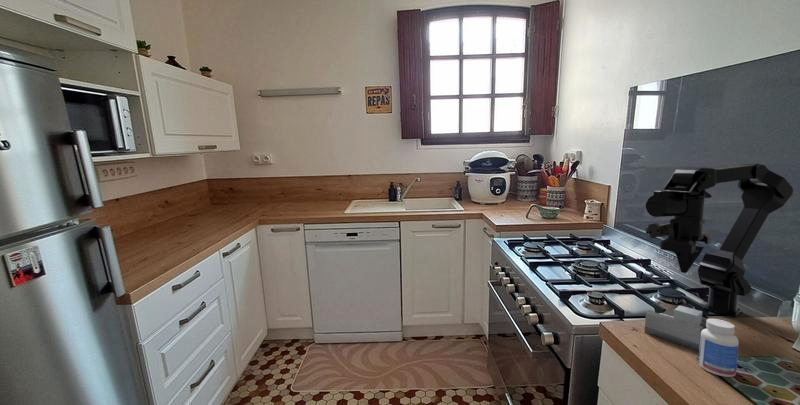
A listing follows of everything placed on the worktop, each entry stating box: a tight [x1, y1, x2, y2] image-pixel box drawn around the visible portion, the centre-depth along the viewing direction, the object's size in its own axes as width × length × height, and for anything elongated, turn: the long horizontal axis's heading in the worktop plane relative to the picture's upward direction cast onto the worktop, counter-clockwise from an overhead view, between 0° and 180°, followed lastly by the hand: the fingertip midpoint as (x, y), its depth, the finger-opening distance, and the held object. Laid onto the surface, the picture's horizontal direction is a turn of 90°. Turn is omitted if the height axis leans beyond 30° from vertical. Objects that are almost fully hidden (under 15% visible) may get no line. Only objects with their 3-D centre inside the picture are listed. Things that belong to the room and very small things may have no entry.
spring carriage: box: [658, 305, 703, 325], centre depth 81 cm, size 4×7×3 cm, turn 34°
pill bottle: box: [698, 318, 740, 378], centre depth 64 cm, size 6×5×10 cm
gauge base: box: [644, 308, 708, 352], centre depth 79 cm, size 17×10×5 cm, turn 124°
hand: (683, 272), depth 86 cm, fingers closed
